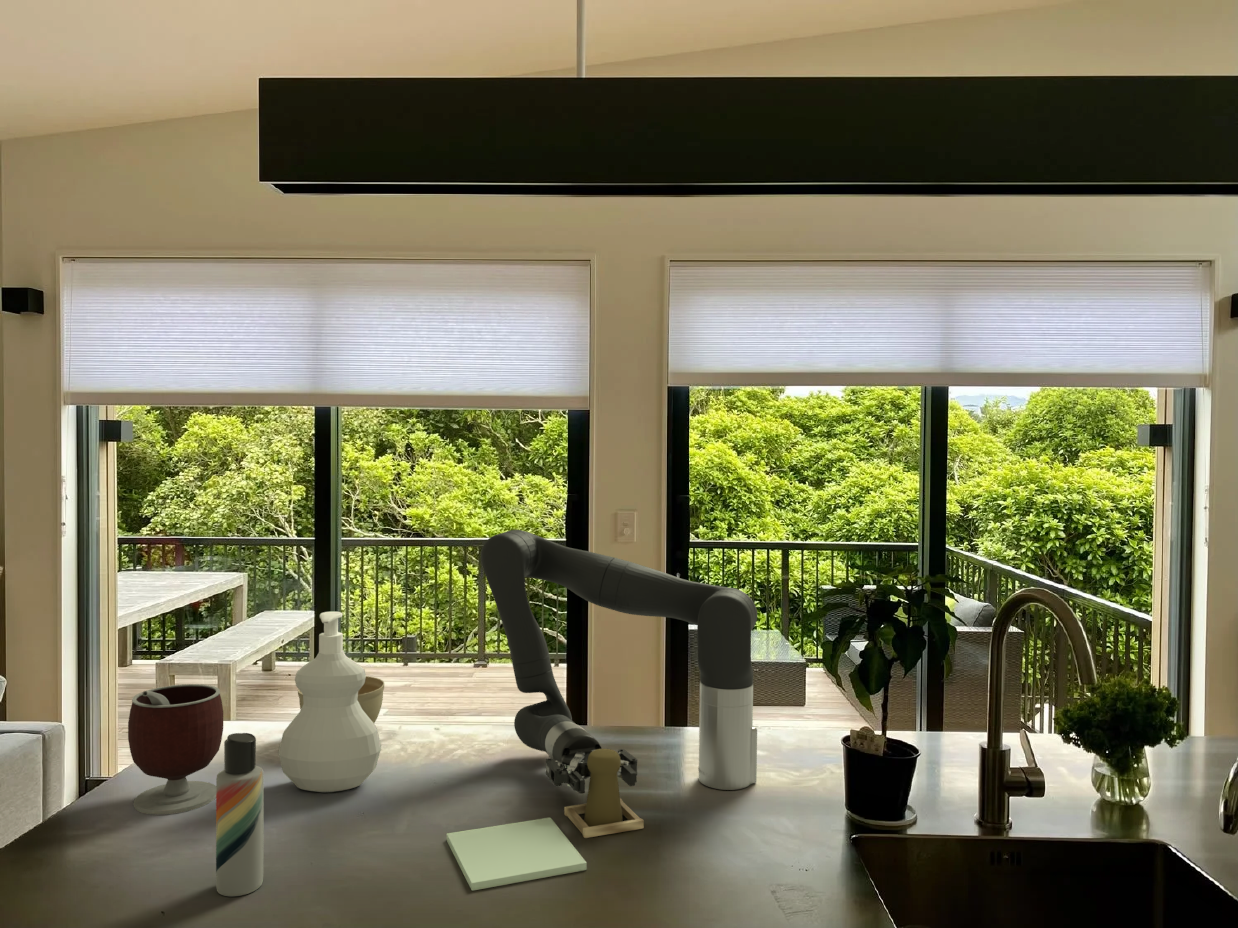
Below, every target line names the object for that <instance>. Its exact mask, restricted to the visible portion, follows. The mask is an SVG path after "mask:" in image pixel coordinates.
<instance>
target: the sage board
mask: <svg viewBox="0 0 1238 928" xmlns="http://www.w3.org/2000/svg"><path fill="white" fill-rule="evenodd" d="M446 842H447V844H448V847H449V848H450V850H451V853H452V854H453V856H454V858H455V860H456V862H457V864H458V866H459V869H460V870H461V872H462V874H463V875H464V878H465V880H466V882H467V884H468V886H469V888H470V890H471V891H477V890H482V889H484V890H485V889H489V888H490V889H491V888H493V887H494V888H495V887H500V886H506V885H510V884H516V883H522V882H528V881H532V880H537V879H539V880H540V879H543V878H548V877H554V876H561V875H565V874H571V873H577V872H583V871H587V870H588V869H587V868H588V867H587V864H588V862H587V861H586V860H585V858H584V857H583V856H582V855H581V853H579V851H578V849H576V847H574V845H573V844H572V842H570V840H569V838H568V837H567V836H566V835H565V834H564V833H563V831H562V830H561V829H560V828H559V826H558V825H557V824H556V822H555V821H554V820H553V819H552V818H551V817H544V818H537V819H532V820H524V821H519V822H512V823H506V824H505V823H504V824H500V825H499V824H498V825H491V826H486V827H480V828H473V829H467V830H462V831H454V832H449V833H448V832H447V833H446Z"/></svg>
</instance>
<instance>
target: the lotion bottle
mask: <svg viewBox="0 0 1238 928" xmlns="http://www.w3.org/2000/svg"><path fill="white" fill-rule="evenodd" d="M223 743H224V745H223V746H224V747H223V748H224V751H223V753H224V754H223V755H224V756H223V757H224V762H223V763H224V765H223V766H224V769H223V770H221V771H219V772H218V773H217V775H216V782H215V783H216V784H215V786H216V798H215V799H216V800H215V801H216V802H215V805H216V806H215V808H216V809H215V812H216V814H215V819H216V820H215V823H216V824H215V829H216V830H215V840H216V841H215V842H216V843H215V847H216V848H215V886H216V891H217V892H218V894H220V895H221V896H224V897H241V896H245V895H247V894H251V893H253V892H255V891H257V890H258V889H259V888H260V887H261V886H262V884H263V880H264V770H263V768H262V767H261V766H258V765H257V763H256V762H257V759H256V758H257V748H256V747H257V745H256V744H257V738H256V736H255V735H254V734H252V733H248V732H238V733H236V732H234V733H231V734H228V736H227V738H226V739H225V740H224V742H223Z"/></svg>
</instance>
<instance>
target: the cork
mask: <svg viewBox="0 0 1238 928" xmlns="http://www.w3.org/2000/svg"><path fill="white" fill-rule="evenodd" d="M620 765H621V759H620V756H619V754H618V751H616V750H614V749H612V748H602V749H596V750H594V751H592V752H591V753H590V754H589V756H588V760H587V766H588V769H589V771H590V772H591V775H590V777H589V783H588V791H587V796H586V803H585V804H586V810H585V813H584V817H583V818H584V819H583V821H584V822H585V823H586V824H587V825H588V826H589V827H592V826H598V825H604V824H611V823H617V822H623V814H622V811H621V803H620V798H621V795H620V794H621V793H620V787H619V786H620V785H619V777H617V772H618V771H619V772H620V770H621V767H620Z"/></svg>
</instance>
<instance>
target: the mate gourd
mask: <svg viewBox="0 0 1238 928" xmlns="http://www.w3.org/2000/svg"><path fill="white" fill-rule="evenodd" d="M131 702H132V703H131V706H130V710H129V716H128V720H127V721H128V723H127V740H128V745H129V751H130V755H131V758H132V761H133V763H134V764H135V766H137V768H138V769H140V771H141V772H142V773H143V774H145V775H147V776H149V777H155V778H161V779H164V780H166V783H165V784H161V785H158V786H154V787H152V788H149V789H147V790H144V791H143V792H141V793H140V794H138V795H137V796H136V797H135V798H134V800H133V807H134V810H136V811H137V812H139V813H141V814H145V815H146V814H147V815H153V816H154V815H157V816H158V815H159V816H160V815H172V814H173V815H174V814H179V813H184V812H189V811H193V810H197V809H200V808H202V807H204V806H207V805H208V804H211V803H212V802H214V801H215V799H216V784H214V783H211V782H207V781H200V780H188V779H187V777H188V776H190V775H192V774H194V773H198V772H199V771H201V770H203V769H205V768H206V767H208V766H209V765H210V763H211V762H212V761H213V759H214V758H215V756H216V755H217V754H218V752H219V751H220V748H221V743H222V740H223V735H224V734H223V732H224V708H223V701H222V697H221V689H220V688H219V687H217V686H215V685H210V684H199V683H195V684H194V683H187V684H186V683H185V684H172V685H167V686H160V687H156V688H151V689H147V690H144V691H141V692H139V693H137V694H136V695H134V696H133V697H132V698H131Z"/></svg>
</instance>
